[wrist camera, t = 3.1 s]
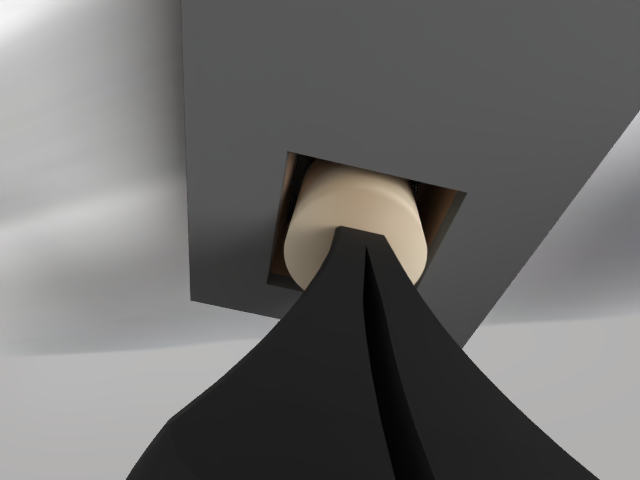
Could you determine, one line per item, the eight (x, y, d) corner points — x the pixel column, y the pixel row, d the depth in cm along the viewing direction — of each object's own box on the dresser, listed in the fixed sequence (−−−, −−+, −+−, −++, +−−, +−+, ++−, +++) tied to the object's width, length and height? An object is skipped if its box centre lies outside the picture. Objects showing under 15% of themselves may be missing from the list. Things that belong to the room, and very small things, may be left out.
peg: (428, 158, 12) (451, 215, 9) (390, 249, 14) (398, 318, 11) (311, 131, 11) (295, 180, 8) (293, 228, 14) (275, 292, 11)
